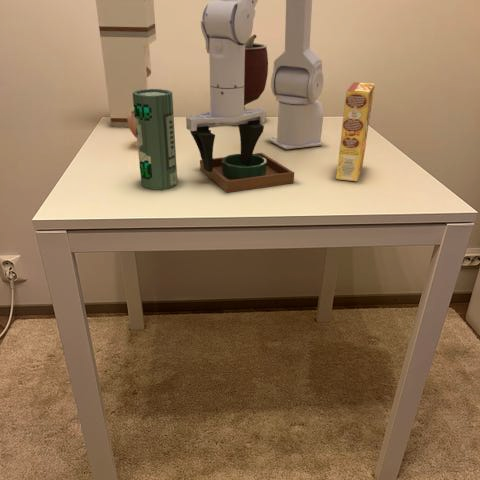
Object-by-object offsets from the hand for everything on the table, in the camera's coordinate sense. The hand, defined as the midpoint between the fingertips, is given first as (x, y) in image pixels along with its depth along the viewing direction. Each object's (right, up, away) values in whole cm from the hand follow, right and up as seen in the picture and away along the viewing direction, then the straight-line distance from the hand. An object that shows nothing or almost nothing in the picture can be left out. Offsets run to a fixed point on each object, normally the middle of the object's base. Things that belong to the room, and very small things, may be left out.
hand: (227, 167), depth 90 cm
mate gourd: (+2, +24, +38) cm, 45 cm away
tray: (+3, -1, +2) cm, 4 cm away
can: (-12, -4, -1) cm, 13 cm away
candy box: (+23, 0, +5) cm, 24 cm away
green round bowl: (+3, 0, +2) cm, 4 cm away
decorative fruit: (-17, +10, +18) cm, 27 cm away
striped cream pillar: (-24, +22, +36) cm, 48 cm away
